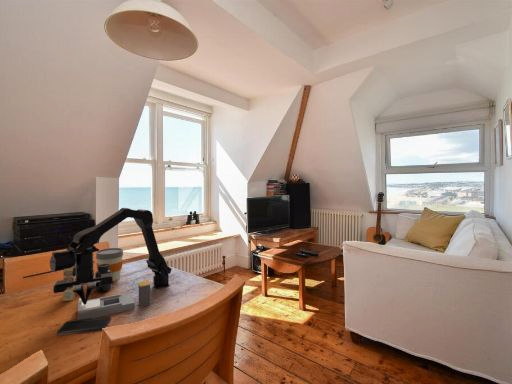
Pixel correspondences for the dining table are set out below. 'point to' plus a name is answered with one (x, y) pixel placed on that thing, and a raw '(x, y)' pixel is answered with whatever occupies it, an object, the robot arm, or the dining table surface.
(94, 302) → the shutter
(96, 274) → the supplement bottle
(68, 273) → the candy box
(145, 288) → the plug
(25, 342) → the dining table surface
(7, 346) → the dining table surface
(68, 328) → the phone
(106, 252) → the reusable coffee cup
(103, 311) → the socket plate
